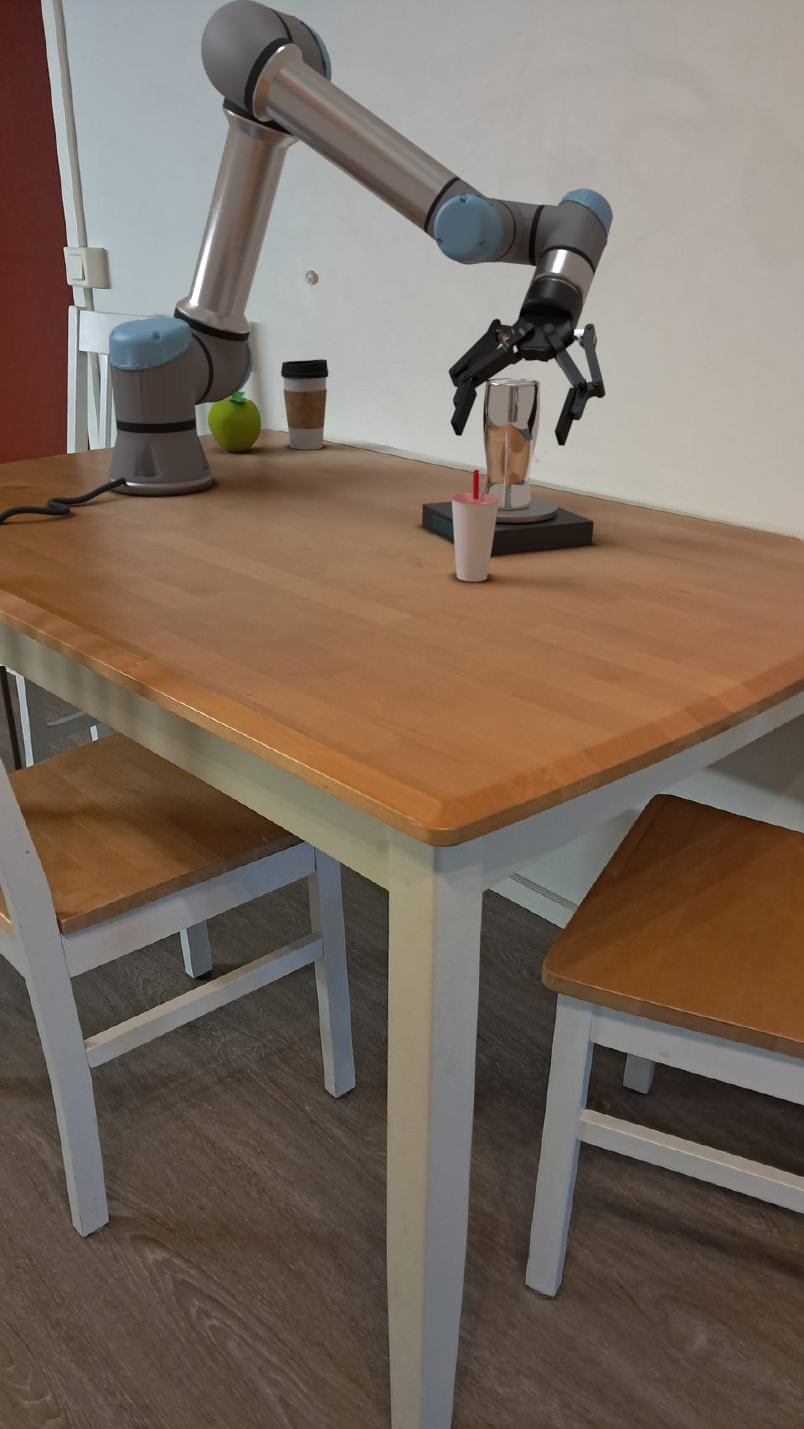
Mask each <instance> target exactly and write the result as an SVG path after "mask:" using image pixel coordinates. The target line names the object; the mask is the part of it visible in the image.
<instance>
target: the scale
mask: <svg viewBox="0 0 804 1429" xmlns="http://www.w3.org/2000/svg"><path fill="white" fill-rule="evenodd" d="M421 516H422V517H421V518H422V519H421V527H422V528H424V529H426V530H427V531H430V532H432V533H433V534H435V535H438V536H439V537H441V538H443V539H444V540H446V541H448V542H450V543H452V544H454V528H453V511H452V501H440V502H431V503H423V504H422V514H421ZM594 523H595V521H594V520H592V519H589V518H587V517H584V516H582V515H579V514H577V513H575V512H572V511H570V510H567V509H565V508H562V507H559V506H558V512H557V515H556V516H555V517H553V518H551V519H548V520H543V521H538V522H529V523H497V522H496V523H495V529H494V536H493V543H492V550H491V556H501V555H509V554H517V553H518V554H519V553H528V552H539V551H546V550H555V549H564V548H565V549H566V548H574V547H583V546H591V545H593V535H594ZM491 556H490V557H491Z"/></svg>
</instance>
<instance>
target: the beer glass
mask: <svg viewBox="0 0 804 1429" xmlns="http://www.w3.org/2000/svg"><path fill="white" fill-rule="evenodd" d="M482 408H483V409H482V438H483V445H484V453H485V462H486V483H485V487H484V492H483V494H490V495H494V496H497V497H499V498H500V500H499V502H498V509H504V510H515V509H524V508H527V507H529V506H530V504H531V500H530V496H531V491H530V471H531V467H532V461H533V458H534V457H533V456H534V453H535V448H536V444H537V439H538V434H539V429H540V420H541V382H540V381H538V380H535V379H530V378H529V379H528V378H516V377H515V378H514V377H513V378H511V377H509V378H508V377H505V378H490V379H488V380H487V381H486V382H485V390H484V397H483V407H482Z"/></svg>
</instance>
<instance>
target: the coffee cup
mask: <svg viewBox="0 0 804 1429" xmlns="http://www.w3.org/2000/svg"><path fill="white" fill-rule="evenodd" d="M280 377H282V378H283V397H284V398H283V399H284V406H285V414H286V423H287V429H288V440H289V447H290V448H291V449H294V450H303V451H304V450H305V451H313V450H319V449H322V448H323V447H324V432H325V431H324V430H325V419H326V406H327V394H328V392H327V391H328V389H327V378H328V377H329V368H328V360H327V359H322V358H321V359H308V360H289V361H283V362H282V363H281V370H280Z"/></svg>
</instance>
